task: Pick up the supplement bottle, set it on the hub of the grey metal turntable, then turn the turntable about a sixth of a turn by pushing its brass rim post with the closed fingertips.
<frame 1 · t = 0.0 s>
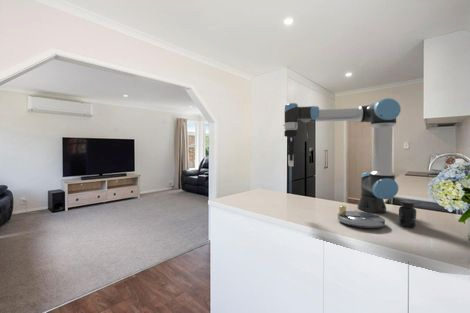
hand: (290, 165, 134), 28 cm above the counter, fingers open, 13 cm apart
supplement bottle: (407, 226, 110), on the counter
turntable: (360, 213, 114), point 5 cm above the counter, hinge at 0.0°
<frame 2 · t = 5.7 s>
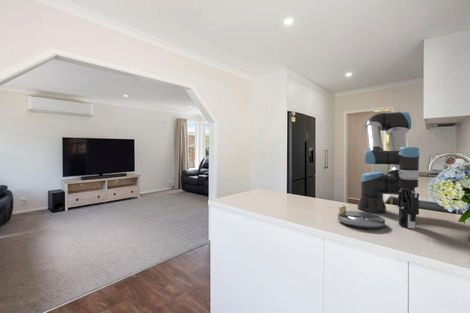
hand: (407, 225, 110), 1 cm above the counter, fingers closed on supplement bottle, 7 cm apart
supplement bottle: (407, 226, 110), on the counter, touching gripper
everything else where it was.
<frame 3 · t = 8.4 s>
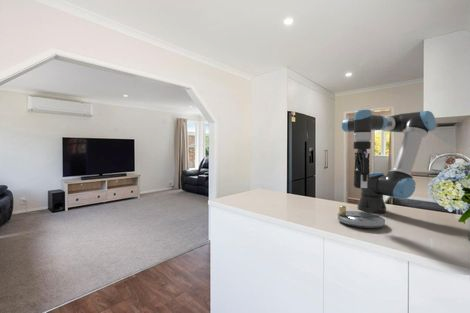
hand: (361, 186, 113), 19 cm above the counter, fingers closed on supplement bottle, 7 cm apart
supplement bottle: (361, 187, 113), point 18 cm above the counter, touching gripper
everything else where it was.
when the fingers open (5 cm above the counter, at t = 11.2 s): supplement bottle drops 1 cm, resting on turntable.
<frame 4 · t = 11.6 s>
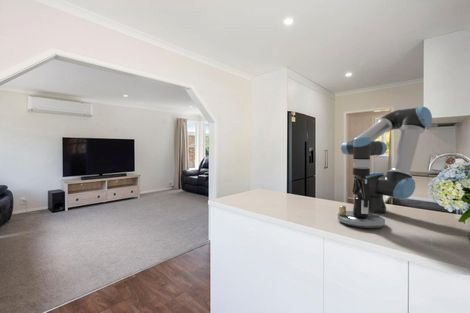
hand: (360, 210, 114), 7 cm above the counter, fingers open, 12 cm apart
supplement bottle: (360, 216, 114), point 3 cm above the counter, touching turntable
turntable: (360, 213, 114), point 5 cm above the counter, hinge at 0.0°, touching supplement bottle
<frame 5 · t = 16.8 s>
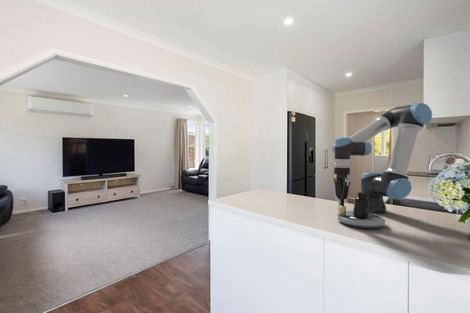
hand: (340, 211, 119), 5 cm above the counter, fingers closed
turntable: (360, 213, 114), point 5 cm above the counter, hinge at 0.4°, touching gripper, supplement bottle
everything else where it was.
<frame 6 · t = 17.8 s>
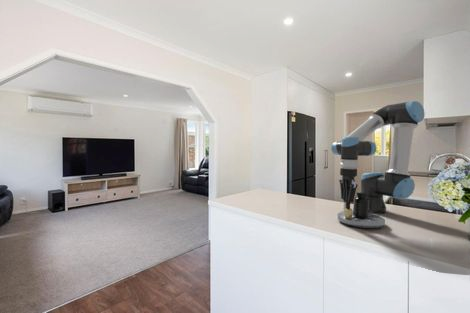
hand: (346, 214, 113), 5 cm above the counter, fingers closed
turntable: (360, 213, 114), point 5 cm above the counter, hinge at 36.0°, touching gripper, supplement bottle
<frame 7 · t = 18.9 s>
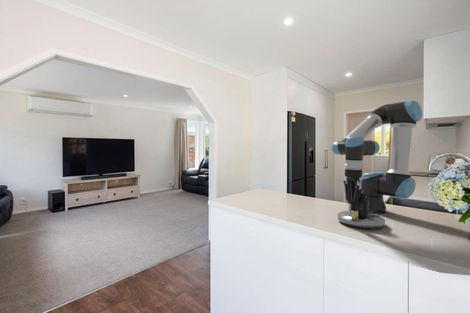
hand: (351, 216, 110), 5 cm above the counter, fingers closed
turntable: (360, 213, 114), point 5 cm above the counter, hinge at 56.3°, touching gripper, supplement bottle
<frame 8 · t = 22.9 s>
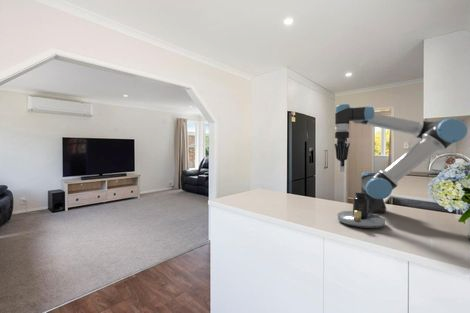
hand: (341, 171, 132), 24 cm above the counter, fingers closed
turntable: (360, 213, 114), point 5 cm above the counter, hinge at 64.6°, touching supplement bottle
at the end: turntable at +65° (first picture: +0°); supplement bottle 0.1 cm from the turntable (horizontally); supplement bottle tilted 5° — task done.
